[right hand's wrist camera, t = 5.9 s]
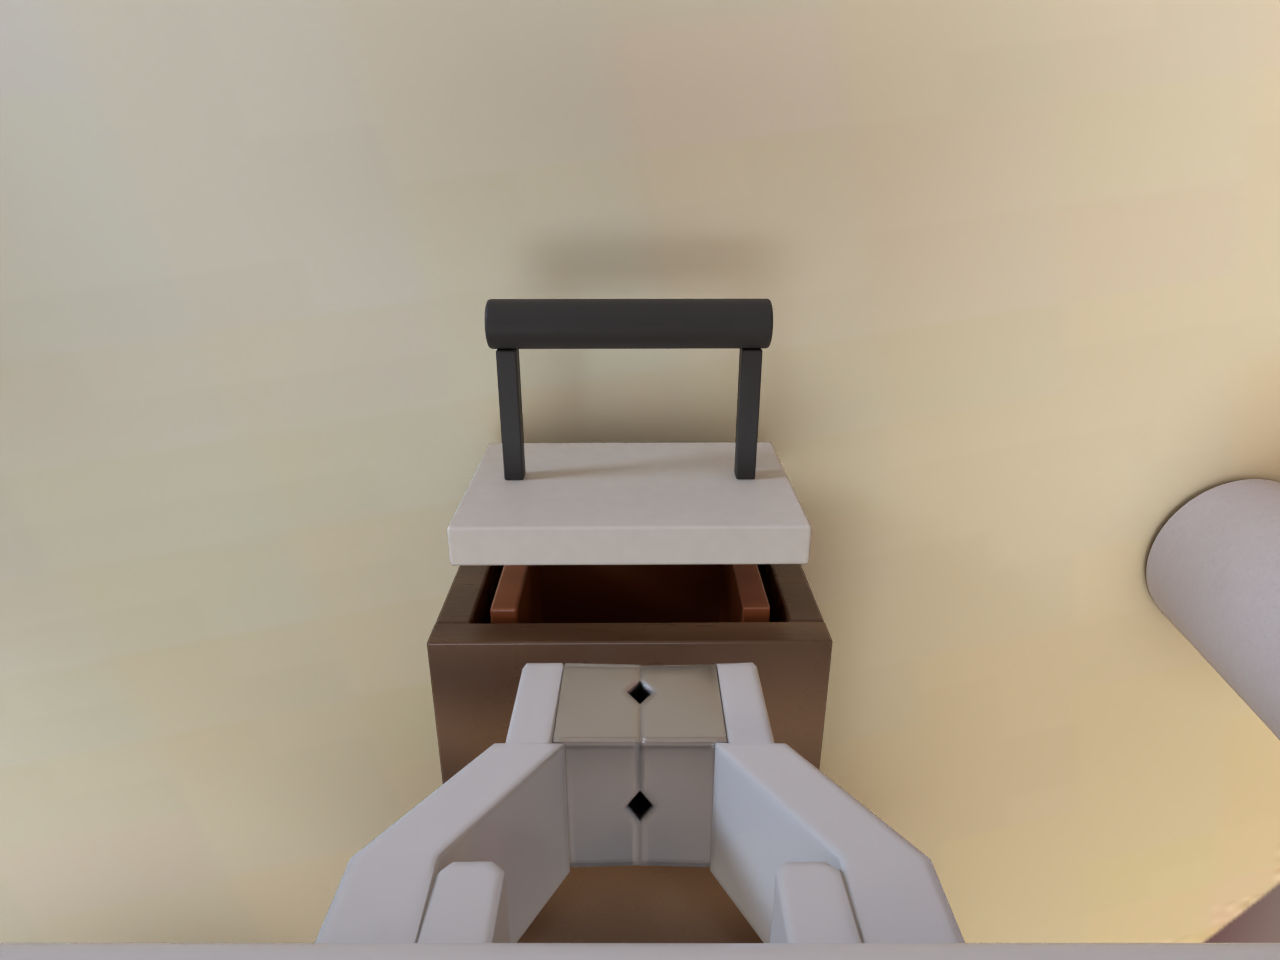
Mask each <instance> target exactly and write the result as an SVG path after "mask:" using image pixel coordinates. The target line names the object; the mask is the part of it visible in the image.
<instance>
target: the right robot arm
mask: <svg viewBox="0 0 1280 960" xmlns="http://www.w3.org/2000/svg"><path fill="white" fill-rule="evenodd" d="M633 865H645V866H681V867H710V871H711V873H712V874H713V875H714V877H715V878H716V879H717V881H718V882H719V883H720V885H721V886H722V887H723V889H724V890H725V891H726V893H727V894H728V895H729V897H730V898H731V899H732V901H733V902H734V904H735V905H736V906H737V908H738V909H739V910H740V912H741V913H742V914H743V916H744V917H745V918H746V920H747V921H748V922H749V924H750V925H751V926H752V928H753V929H754V930H755V932H756V933H757V934H758V936H759V937H760V939H761V940H762V941H763V943H517V942H518V940H519V939H520V938H521V936H522V935H523V934H524V932H525V931H526V930H527V928H528V927H529V926H530V924H531V923H532V922H533V920H534V919H535V918H536V916H537V915H538V914H539V912H540V911H541V910H542V908H543V907H544V906H545V904H546V903H547V902H548V900H549V899H550V898H551V896H552V895H553V894H554V892H555V891H556V889H557V888H558V887H559V885H560V884H561V883H562V881H563V880H564V879H565V877H566V876H567V875H568V873H569V872H570V867H598V866H633ZM0 960H1280V943H965V942H964V939H963V937H962V934H961V932H960V930H959V927H958V925H957V922H956V920H955V917H954V915H953V913H952V910H951V908H950V905H949V903H948V900H947V898H946V896H945V893H944V891H943V888H942V886H941V883H940V881H939V879H938V876H937V874H936V871H935V869H934V866H933V864H932V862H931V859H929V858H928V857H927V856H926V855H924V854H923V853H922V852H921V851H919V850H918V849H917V848H916V847H914V846H913V845H912V844H911V843H909V842H908V841H907V840H906V839H904V838H903V837H902V836H901V835H899V834H898V833H897V832H896V831H894V830H893V829H892V828H891V827H890V826H888V825H887V824H886V823H885V822H883V821H882V820H881V819H880V818H878V817H877V816H876V815H875V814H873V813H872V812H871V811H870V810H868V809H867V808H866V807H865V806H863V805H862V804H861V803H860V802H858V801H857V800H856V799H855V798H853V797H852V796H851V795H850V794H848V793H847V792H846V791H845V790H843V789H842V788H841V787H840V786H838V785H837V784H836V783H835V782H833V781H832V780H831V779H830V778H828V777H827V776H826V775H825V774H823V773H822V772H821V771H820V770H818V769H817V768H816V767H815V766H813V765H812V764H811V763H810V762H808V761H807V760H806V759H805V758H803V757H802V756H801V755H800V754H798V753H797V752H796V751H795V750H793V749H792V748H791V747H790V746H788V745H787V744H786V743H774V739H773V734H772V730H771V726H770V721H769V717H768V713H767V709H766V704H765V700H764V696H763V692H762V687H761V683H760V679H759V674H758V670H757V666H756V665H755V664H754V663H725V664H715V665H659V666H640V665H627V664H579V663H566V664H565V665H564V664H563V663H527V664H526V665H525V666H524V668H523V669H522V674H521V678H520V682H519V687H518V691H517V695H516V700H515V704H514V708H513V713H512V717H511V721H510V726H509V730H508V734H507V738H506V743H494V744H493V745H492V746H490V747H489V748H488V749H487V750H485V751H484V752H483V753H482V754H480V755H479V756H478V757H477V758H475V759H474V760H473V761H472V762H470V763H469V764H468V765H467V766H465V767H464V768H463V769H461V770H460V771H459V772H458V773H456V774H455V775H454V776H453V777H451V778H450V779H449V780H448V781H446V782H445V783H444V784H443V785H441V786H440V787H439V788H438V789H436V790H435V791H434V792H433V793H431V794H430V795H429V796H428V797H426V798H425V799H424V800H423V801H421V802H420V803H419V804H418V805H416V806H415V807H414V808H413V809H411V810H410V811H409V812H408V813H406V814H405V815H404V816H403V817H401V818H400V819H399V820H398V821H396V822H395V823H394V824H393V825H391V826H390V827H389V828H388V829H386V830H385V831H384V832H383V833H381V834H380V835H379V836H378V837H376V838H375V839H374V840H373V841H371V842H370V843H369V844H368V845H366V846H365V847H364V848H362V849H361V850H360V851H359V852H357V853H356V854H355V855H354V856H352V857H351V858H350V860H349V863H348V865H347V867H346V870H345V872H344V875H343V877H342V879H341V882H340V884H339V887H338V889H337V891H336V894H335V896H334V898H333V901H332V903H331V906H330V908H329V910H328V913H327V915H326V918H325V920H324V922H323V925H322V927H321V930H320V932H319V934H318V937H317V939H316V941H315V943H0Z"/></svg>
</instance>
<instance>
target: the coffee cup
mask: <svg viewBox="0 0 1280 960" xmlns="http://www.w3.org/2000/svg"><path fill="white" fill-rule="evenodd" d="M1146 580H1147V586H1148V590H1149V593H1150V595H1151V598H1152V600H1153V601H1154V603H1155V604H1156V606H1157V607H1158V608H1159V609H1160V611H1161V612H1162V613H1163V614H1164V615H1165V616H1166V617H1167V618H1168V619H1169V620H1170V622H1171V623H1172V624H1173V625H1174V626H1175V627H1176V628H1177V629H1178V630H1179V631H1180V632H1181V633H1182V635H1183V636H1184V637H1185V638H1186V639H1187V640H1188V641H1189V642H1190V643H1191V644H1192V645H1193V646H1194V648H1195V649H1196V650H1197V651H1198V652H1199V653H1200V654H1201V655H1202V656H1203V657H1204V658H1205V659H1206V661H1207V662H1208V663H1209V664H1210V665H1211V666H1212V667H1213V668H1214V669H1215V670H1216V671H1217V672H1218V674H1219V675H1220V676H1221V677H1222V678H1223V679H1224V680H1225V681H1226V682H1227V683H1228V684H1229V685H1230V687H1231V688H1232V689H1233V690H1234V691H1235V692H1236V693H1237V694H1238V695H1239V696H1240V697H1241V698H1242V700H1243V701H1244V702H1245V703H1246V704H1247V705H1248V706H1249V707H1250V708H1251V709H1252V710H1253V711H1254V713H1255V714H1256V715H1257V716H1258V717H1259V718H1260V719H1261V720H1262V721H1263V722H1264V723H1265V725H1266V726H1267V727H1268V728H1269V729H1270V730H1271V731H1272V732H1273V733H1274V734H1275V735H1276V736H1277V738H1278V739H1279V740H1280V482H1277V481H1272V480H1266V479H1245V480H1238V481H1233V482H1229V483H1226V484H1222V485H1219V486H1217V487H1214V488H1212V489H1210V490H1207V491H1205V492H1204V493H1202V494H1200V495H1198V496H1197V497H1195V498H1193V499H1192V500H1190V501H1189V502H1188V503H1186V504H1185V505H1184V506H1183V507H1181V508H1180V509H1179V510H1178V511H1177V512H1176V513H1175V514H1174V515H1173V516H1172V517H1171V518H1170V519H1169V520H1168V521H1167V522H1166V524H1165V525H1164V526H1163V528H1162V529H1161V531H1160V532H1159V534H1158V535H1157V537H1156V539H1155V541H1154V543H1153V545H1152V547H1151V550H1150V553H1149V556H1148V561H1147V567H1146Z"/></svg>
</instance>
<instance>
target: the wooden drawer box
mask: <svg viewBox="0 0 1280 960" xmlns="http://www.w3.org/2000/svg"><path fill="white" fill-rule="evenodd" d="M757 566H758V569H759V573H760V576H761V579H762V583H763V586H764V589H765V593H766V596H767V599H768V602H769V606H770V619H769V622H700V623H491V616H490V609H491V605H492V602H493V599H494V596H495V593H496V589H497V586H498V583H499V580H500V576H501V573H502V570H503V567H504V565H460V566H459V569H458V571H457V574H456V576H455V578H454V581H453V583H452V586H451V588H450V590H449V593H448V595H447V597H446V600H445V602H444V605H443V607H442V609H441V612H440V614H439V617H438V619H437V621H436V624H435V625H434V628H433V630H432V632H431V635H430V637H429V640H428V642H427V649H428V658H429V667H430V675H431V684H432V693H433V702H434V710H435V719H436V728H437V737H438V746H439V754H440V763H441V772H442V781H443V784H444V783H445V782H446V781H448V780H449V779H450V778H451V777H453V776H454V775H455V774H456V773H458V772H459V771H460V770H461V769H463V768H464V767H465V766H467V765H468V764H469V763H470V762H472V761H473V760H474V759H475V758H477V757H478V756H479V755H480V754H482V753H483V752H484V751H485V750H487V749H488V748H489V747H490V746H492V745H493V744H494V743H506V738H507V734H508V730H509V726H510V721H511V717H512V713H513V708H514V704H515V700H516V695H517V691H518V687H519V682H520V678H521V674H522V669H523V668H524V666H525V665H526V664H527V663H563V664H564V665H565V664H566V663H579V664H627V665H640V666H659V665H715V664H725V663H754V664H755V665H756V666H757V670H758V674H759V679H760V683H761V687H762V692H763V696H764V700H765V704H766V709H767V713H768V717H769V721H770V726H771V730H772V734H773V739H774V743H786V744H787V745H788V746H790V747H791V748H792V749H793V750H795V751H796V752H797V753H798V754H800V755H801V756H802V757H803V758H805V759H806V760H807V761H808V762H810V763H811V764H812V765H813V766H815V767H816V768H817V769H818V770H819V768H820V758H821V749H822V739H823V729H824V719H825V710H826V700H827V690H828V680H829V670H830V661H831V651H832V639H831V637H830V634H829V632H828V629H827V627H826V625H825V623H824V621H823V618H822V616H821V613H820V611H819V608H818V606H817V603H816V601H815V599H814V596H813V594H812V591H811V589H810V586H809V584H808V581H807V579H806V577H805V574H804V572H803V569H802V567H801V564H757ZM517 943H763V941H762V940H761V939H760V937H759V936H758V934H757V933H756V932H755V930H754V929H753V928H752V926H751V925H750V924H749V922H748V921H747V920H746V918H745V917H744V916H743V914H742V913H741V912H740V910H739V909H738V908H737V906H736V905H735V904H734V902H733V901H732V899H731V898H730V897H729V895H728V894H727V893H726V891H725V890H724V889H723V887H722V886H721V885H720V883H719V882H718V881H717V879H716V878H715V877H714V875H713V874H712V873H711V871H710V867H681V866H645V865H633V866H598V867H570V872H569V873H568V875H567V876H566V877H565V879H564V880H563V881H562V883H561V884H560V885H559V887H558V888H557V889H556V891H555V892H554V894H553V895H552V896H551V898H550V899H549V900H548V902H547V903H546V904H545V906H544V907H543V908H542V910H541V911H540V912H539V914H538V915H537V916H536V918H535V919H534V920H533V922H532V923H531V924H530V926H529V927H528V928H527V930H526V931H525V932H524V934H523V935H522V936H521V938H520V939H519V940H518V942H517Z"/></svg>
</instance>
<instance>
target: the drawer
mask: <svg viewBox="0 0 1280 960" xmlns="http://www.w3.org/2000/svg"><path fill="white" fill-rule="evenodd" d="M772 331H773V309H772V304H771V301H770V300H769V299H490V300H488V301H487V304H486V308H485V333H486V339H487V343H488V346H489V347H490V348H492V349H497V351H496V360H497V375H498V390H499V405H500V420H501V435H502V443H490V444H489V445H488V447H487V449H486V451H485V453H484V455H483V457H482V459H481V461H480V463H479V465H478V467H477V469H476V471H475V473H474V475H473V477H472V479H471V481H470V483H469V485H468V487H467V489H466V491H465V493H464V495H463V497H462V499H461V501H460V504H459V506H458V508H457V510H456V512H455V514H454V516H453V518H452V520H451V522H450V524H449V526H448V528H447V533H448V543H449V553H450V562H451V565H504V567H503V570H502V573H501V576H500V580H499V583H498V586H497V589H496V593H495V596H494V599H493V602H492V605H491V609H490V616H491V623H700V622H769V619H770V606H769V602H768V599H767V596H766V593H765V589H764V586H763V583H762V579H761V576H760V573H759V569H758V566H757V564H807V563H808V561H809V551H810V539H811V525H810V523H809V521H808V519H807V517H806V515H805V513H804V511H803V508H802V506H801V504H800V502H799V500H798V498H797V496H796V494H795V492H794V490H793V488H792V485H791V483H790V481H789V479H788V477H787V475H786V473H785V471H784V469H783V467H782V465H781V462H780V460H779V458H778V456H777V454H776V452H775V450H774V448H773V446H772V444H771V443H770V442H757V438H758V420H759V402H760V384H761V366H762V350H761V348H768V347H769V345H770V343H771V339H772ZM646 348H740V356H739V378H738V400H737V422H736V442H718V443H524V435H523V417H522V399H521V382H520V364H519V349H646Z"/></svg>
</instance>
